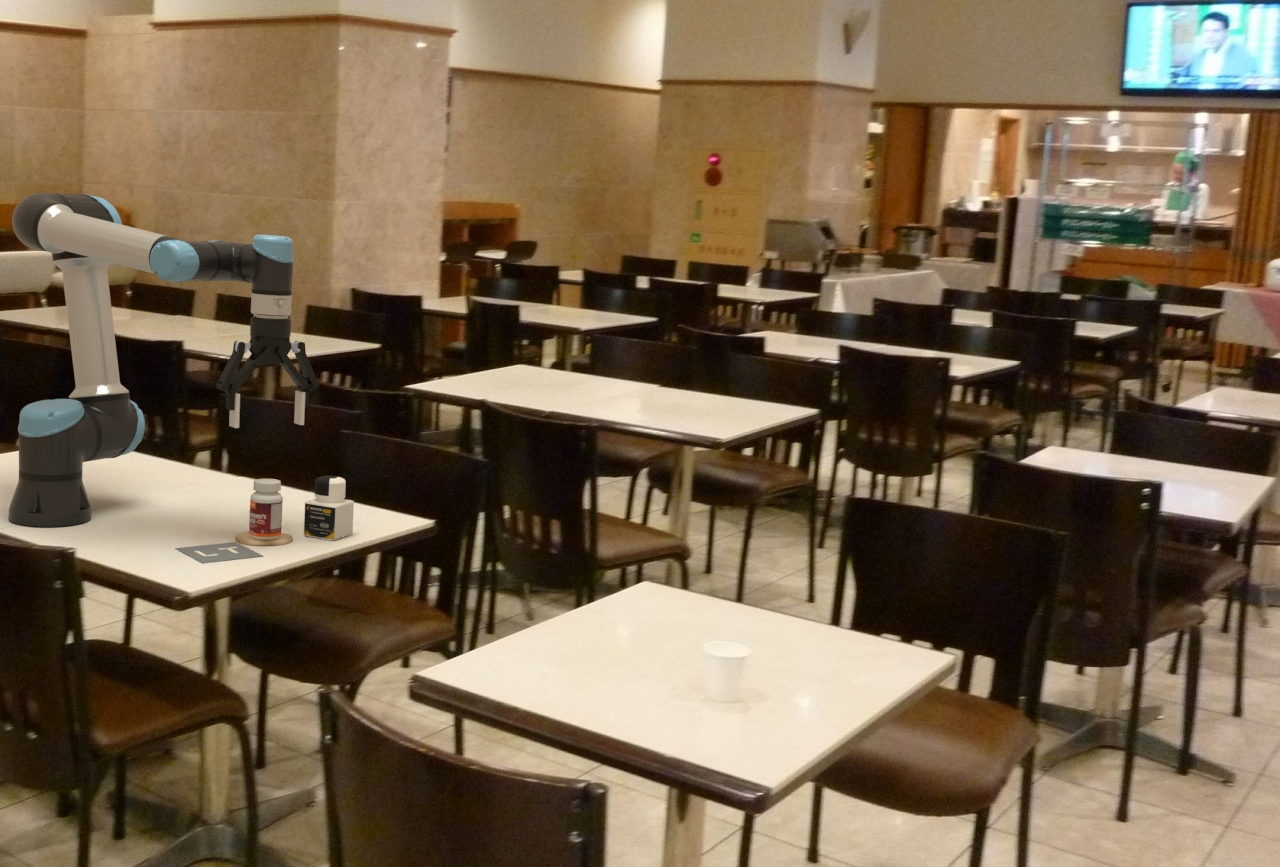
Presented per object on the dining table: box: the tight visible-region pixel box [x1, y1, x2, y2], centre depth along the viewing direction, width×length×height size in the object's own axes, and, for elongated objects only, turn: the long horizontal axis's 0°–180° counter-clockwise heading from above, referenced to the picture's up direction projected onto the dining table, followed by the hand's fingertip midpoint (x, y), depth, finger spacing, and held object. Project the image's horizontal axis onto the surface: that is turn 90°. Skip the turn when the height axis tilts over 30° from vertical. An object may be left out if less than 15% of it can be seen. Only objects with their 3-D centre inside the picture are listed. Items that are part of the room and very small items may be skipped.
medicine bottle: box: [303, 475, 355, 541], centre depth 276 cm, size 7×7×12 cm
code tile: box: [174, 541, 264, 564], centre depth 258 cm, size 12×12×1 cm
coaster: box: [234, 531, 294, 547], centre depth 270 cm, size 11×11×1 cm
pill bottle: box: [248, 478, 284, 540], centre depth 270 cm, size 6×6×11 cm
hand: (267, 425), depth 267 cm, fingers open, 13 cm apart
